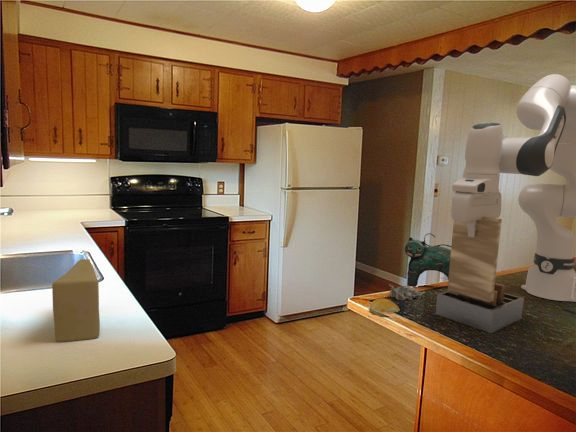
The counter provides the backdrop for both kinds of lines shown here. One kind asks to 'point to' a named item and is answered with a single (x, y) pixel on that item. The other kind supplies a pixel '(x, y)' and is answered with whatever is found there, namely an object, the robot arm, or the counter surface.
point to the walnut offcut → (499, 291)
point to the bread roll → (383, 307)
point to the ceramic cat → (426, 259)
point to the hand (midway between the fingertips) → (475, 236)
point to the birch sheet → (474, 259)
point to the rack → (479, 310)
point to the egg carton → (403, 290)
